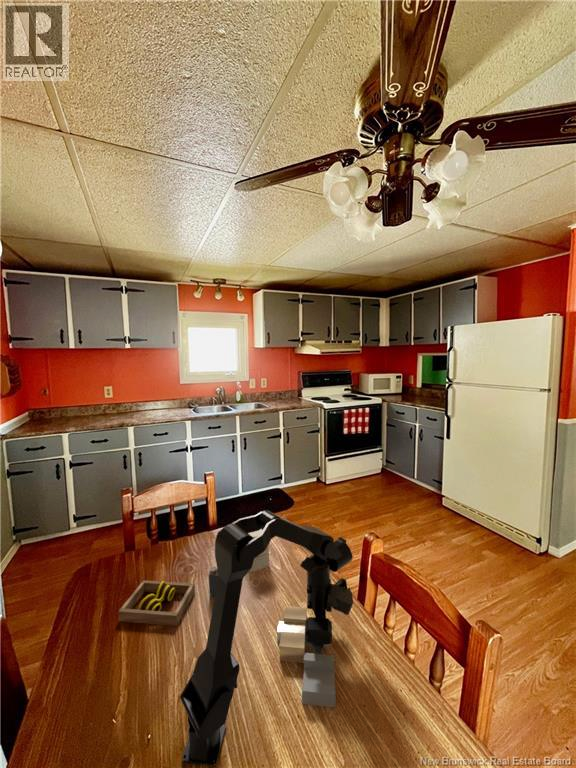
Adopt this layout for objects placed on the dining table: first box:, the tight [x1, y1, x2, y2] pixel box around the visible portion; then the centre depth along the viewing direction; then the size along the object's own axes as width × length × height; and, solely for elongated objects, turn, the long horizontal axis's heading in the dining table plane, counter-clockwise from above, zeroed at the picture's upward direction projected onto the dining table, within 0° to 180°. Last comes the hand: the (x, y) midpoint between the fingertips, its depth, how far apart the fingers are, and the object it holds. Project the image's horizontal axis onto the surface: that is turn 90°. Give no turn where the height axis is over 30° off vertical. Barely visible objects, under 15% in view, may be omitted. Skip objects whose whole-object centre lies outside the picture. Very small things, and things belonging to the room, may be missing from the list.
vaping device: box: [208, 566, 218, 598], centre depth 94 cm, size 3×5×12 cm, turn 78°
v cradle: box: [301, 652, 337, 708], centre depth 68 cm, size 8×7×3 cm
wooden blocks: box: [278, 605, 308, 664], centre depth 79 cm, size 12×6×4 cm, turn 174°
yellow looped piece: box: [138, 580, 175, 611], centre depth 90 cm, size 10×5×5 cm, turn 159°
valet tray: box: [118, 579, 196, 627], centre depth 91 cm, size 12×17×3 cm
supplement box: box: [248, 529, 270, 573], centre depth 108 cm, size 7×7×13 cm
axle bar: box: [276, 620, 329, 650], centre depth 79 cm, size 13×3×3 cm, turn 81°
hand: (319, 636), depth 78 cm, fingers open, 9 cm apart
